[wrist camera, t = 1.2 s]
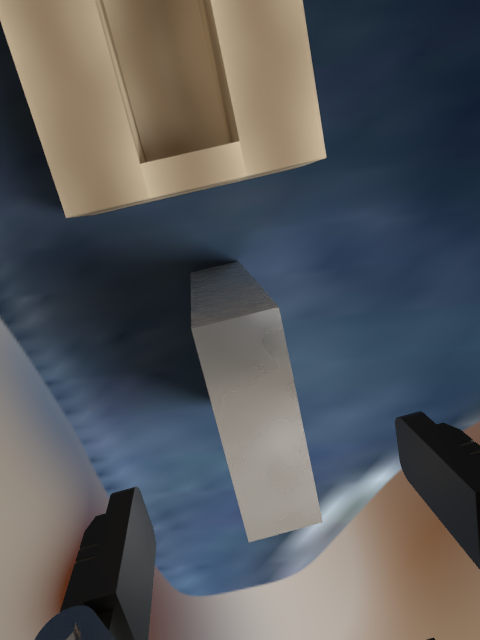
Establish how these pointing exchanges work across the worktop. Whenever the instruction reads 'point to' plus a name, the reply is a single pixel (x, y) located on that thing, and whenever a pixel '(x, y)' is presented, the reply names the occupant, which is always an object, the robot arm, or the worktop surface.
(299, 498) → the grey stone slab
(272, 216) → the worktop surface
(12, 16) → the wooden l-shaped stand
